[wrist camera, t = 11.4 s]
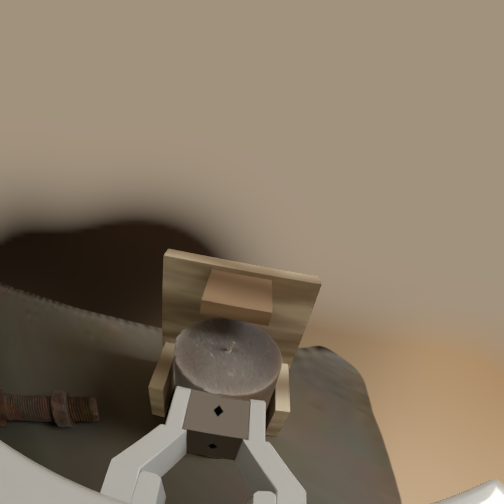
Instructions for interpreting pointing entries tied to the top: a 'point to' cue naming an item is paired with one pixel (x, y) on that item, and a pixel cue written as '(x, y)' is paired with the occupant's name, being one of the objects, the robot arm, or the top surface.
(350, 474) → the top surface
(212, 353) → the pillar candle
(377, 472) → the top surface
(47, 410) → the bolt
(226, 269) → the cradle
